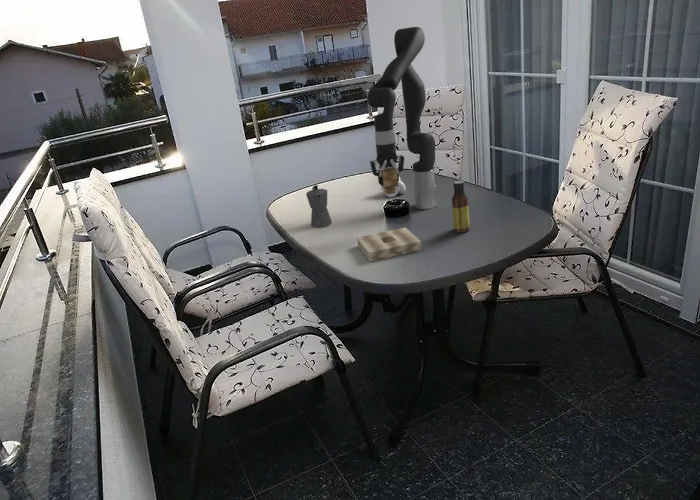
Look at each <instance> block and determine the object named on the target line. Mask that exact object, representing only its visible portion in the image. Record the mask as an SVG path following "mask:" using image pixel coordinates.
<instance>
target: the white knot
mask: <svg viewBox="0 0 700 500" xmlns="http://www.w3.org/2000/svg"><path fill="white" fill-rule="evenodd" d="M380 187H381V191H382V193H383V194H384V195H385V196H386V197H388V198H394V197H396V196H397V195H398V194H399V195H403V194H405V193H406V190H407V187H406V185H405V183H404V182H403V181H402V180H401V177H400V176H399V181H398V186H395V188H396V189H395V193H392V194H386V193H385V192H384V188H383V187H382V186H381V185H380Z"/></svg>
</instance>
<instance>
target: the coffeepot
mask: <svg viewBox="0 0 700 500" xmlns="http://www.w3.org/2000/svg"><path fill="white" fill-rule="evenodd" d="M305 194H306V199H307V202H308V204H309V207H310V208H311V213H310V214H311V215H310V216H311V218H310V219H311V221H310V222H311V223H310V225H311V226H312V227H313V228H315V229H317V228H318V229H320V228H326V227H329V226H330V225H331V224H332V223H333V222H332V218H331V216H330V212H329V209H328V208H327V206H328V189H325V188H318V185H317V184H316V185H314V186H312V189H311V190H308V191H307V192H306V193H305Z"/></svg>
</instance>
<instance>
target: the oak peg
mask: <svg viewBox="0 0 700 500" xmlns="http://www.w3.org/2000/svg"><path fill="white" fill-rule="evenodd" d="M382 177H383V186H382V187H383V188H384V192H385V193H386V194H392V193H395V189H396V188H395V186H398V177H397V170H396V169H393V168H392V167H388V168H385V169H384V171H383V172H382Z"/></svg>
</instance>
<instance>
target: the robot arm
mask: <svg viewBox="0 0 700 500" xmlns="http://www.w3.org/2000/svg"><path fill="white" fill-rule="evenodd" d="M425 39H426V37H425V33H424V31H423V29H422V27H419V26H411V27H405V28H404V27H403V28H398V29H397V30H396V31H395V33H394V37H393V41H394V42H393V43H394V49H395V54H396V57H395V58H394V59H392V61H390V62H389V63H388V65H386V68H385V70H384V71H383V72H382V75H381V77H380V78H379V79H378V80H376V82H375V83H374V84H373V85H372V87H370V89H369V91H368V93H367V97H366V99H367V104H368V105H369V106H370V107H372V108H373V109H374V108H380V109H381V108H383V110H382V112H381V113H378V114H376V115H374V118H373V122H374V133H375V134H374V141H375V149H376V159H373V160H369V165H370V169H371V171H372V172H371V173H372V175H373V176H374V177H377V180H378V181H377V182H378V184H379V185H380V187H381V186H383V177H382V172H383V171H384V169H385V168H389V167H392V168H393V169H396V170H397V177H398V181H399V177H400V172H403V171H404V165H405V163H404V162H405V156H403V155H401V154H400V155H397V148H396V135H395V131H394V122H393V121H394V119H393V117H394V112H395V105H396V99H397V98H396V97H397V96H396V92H395V90H396V89H397V88H398V86H399V84H400V82H401V90H402V99H403V104H404V105H403V106H404V112H405V113H404V114H405V122H406V144H407V146H406V147H407V149H408V151H409V152H410V153H412V154H415V155H419V160H418V161H416V162H413V164H412V177H413V193H414V194H413V195H414V206H415V208H416V209H417V210H429V209H433V208H435V207H438V194H437V192H438V191H437V185H436V184H435V163H436V140H435V137H434V136H433V134H431V133H427V132H422V131H421V124H420V123H421V116H422V113H423V111H424V108H425V105H426V102H427V99H426V98H427V97H426V91H425V90H426V87H425V83H424V82H423V81H424V80H422V78H421V76H420V75H419V74H418V73H417V71H416V70H415V68H414V67H413V64H412V62H414V60H415V59H416V58H417V56H418V55H419V54H420V52H421V51H422V49H423V47H424V45H425ZM396 161H398V166H397V165H396ZM377 164H378V165H379V166H378V168H377V167H376V166H377ZM377 169H378V170H377Z"/></svg>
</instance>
